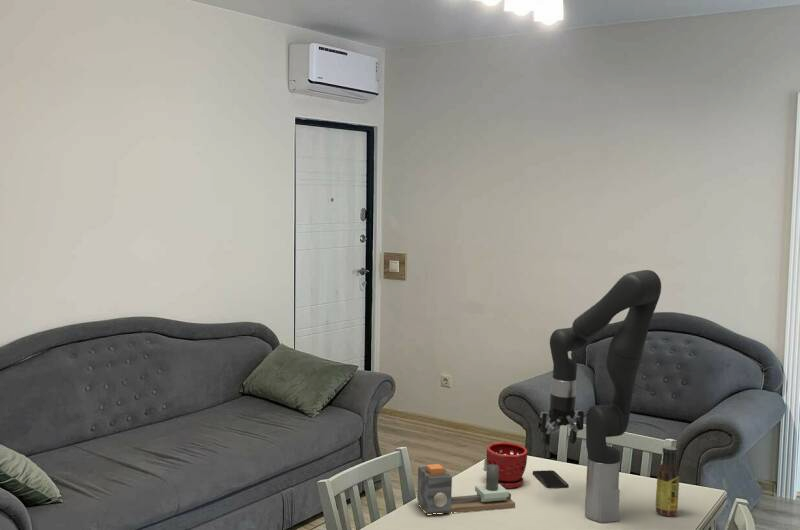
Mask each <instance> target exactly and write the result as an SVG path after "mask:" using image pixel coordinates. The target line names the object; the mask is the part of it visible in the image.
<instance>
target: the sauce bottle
mask: <svg viewBox="0 0 800 530" xmlns="http://www.w3.org/2000/svg"><path fill="white" fill-rule="evenodd" d="M677 454H678V448H676V447H675V446H670V445H669V446H667V445H666V446H663V447H662V461H661V462H662V463H661V464H660V465H659V467H658V469H657V477H656V478H657V479H656V490H655V491H656V494H655V495H656V496H655V511H656V513H657V514H659V515H661V516H664V517H673V516H676V515H677V510H678V507H679V506H678V503H679V490H680V488H679V487H680V473H679V469H678V466H677Z"/></svg>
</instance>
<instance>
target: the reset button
mask: <svg viewBox="0 0 800 530" xmlns="http://www.w3.org/2000/svg"><path fill="white" fill-rule="evenodd" d="M425 467H426V472H427V473H428V474H429V475H437V474H444V470H445V468H444V467H443V466H442V465H441V464H440V463H434V464H426V466H425Z"/></svg>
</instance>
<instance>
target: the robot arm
mask: <svg viewBox="0 0 800 530" xmlns="http://www.w3.org/2000/svg"><path fill="white" fill-rule="evenodd" d="M661 294H662V281H661V279H660V277H659V275H658V274H657V273H656V271H653V270H650V269H641V270H638V271H632V272H627V273H626V274H624V275H623V276H621V277H620V278H619V279H618V280H617V282H615V284H614V285H613V286H612V287H611V288H610V290H608V292H607V293H606V294H605V295H604V296H603V297H602V298H601V299H599V300H598V301H597V302H596V303H595V304H594V305H592V306H591V307H590V308H588V309H587V310H585V311H584V312H582V313H581V314H580V315H578V317H576V318H575V319H574V320H573V322H572V326H571V327H565V328H558V329H555V330H554V331H552V332H551V335H550V338H549V347H550V352H551V358H552V363H553V368H552V369H553V370H552V379H551V385H550V396H549V397H550V398H549V399H550V400H549V411H543V410H541V411H539V415H538V416H539V417H538V423H537V430H539V432H541V433H543V435H542V436H543V437H542V442H543V443H544V445H545V446H550V441H551V432H552V431H553V430H554V429H555V428H556V427H561V426H564V427H565V426H568V427H569V429H570V430H569V436H568V437H569V438H568V441H569V443H570V444H571V445H575V443H576V442H577V437H578V436H577V435H578V431H583V430H584V419H585V433H586V435H585V437H586V438H585V440H586V441H585V444H586V451H587V458H586V459H587V460H586V461H587V463H586V464H587V465H586V484H585V485H586V486H585V503H584V505H585V506H584V515H585V516H586V518H587V519H589V520H592V521H595V522H598V523H599V524H600V523H601V524H602V523H611V522H613V523H614V522H619V517H620V516H619V515H620V514H619V511H620V493H621V491H620V489H619V483H620V465H621V464H620V463H621V453H620V451H619V449H618V448H616V447H613V446H610V445H608V444H607V438H611V437H620V436H623V435H624V434H625V433H626V432H627V429H628V426H629V422H630V421H629V420H630V415H631V407H632V399H633V393H634V389H635V384H636V381H637V380H636V379H637V377H638V372H639V369H640V365H641V362H642V357H643V353H644V348H645V344H646V340H647V337H648V332H649V328H650V324H651V322H652V321H651V320H652V318H653V315H654V312H655V311H656V308H657V305H658V302H659V299H660V296H661ZM627 309H628V311H627V313H626V316H625V318H624V320H623V321H622V323H621V324H620V326H619V327H618V329H616V332H615V334H614V335H613V337H612V338H611V340H610V343H609V347H608V352H607V356H606V361H605V367H606V370H607V373H608V375H609V378H610V380H611V383H612V385H613V395H612V401H611V403H609V404H597V405H592V406H590V407H589V408H588V410H587V413H586V417H584V414H585V413H584V411H583V410H581V409H579V408H578V409H576V396H577V372H578V371H577V370H578V364H577V362H576V360H574V359H573V358H570V357H569V352H575V351H579V350H580V349H582V348H584V347H585V346H586V345H587V343H588V342H589V341H590V340H591V339H592V337H594V336H596V335H597V334H598V333H600V332H601V331H602V330H604V329H605V328H606V327H607V326H608V325H609V324H610V322H612V319H614V317H615V316H617V315H618V314H619V313H621V312H623V311H625V310H627ZM575 409H576V410H575ZM548 418H549V419H548ZM574 418H575V422H574V421H573V419H574Z"/></svg>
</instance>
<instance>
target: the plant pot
mask: <svg viewBox="0 0 800 530" xmlns="http://www.w3.org/2000/svg"><path fill="white" fill-rule="evenodd" d="M500 450H502V452H501V453H500ZM511 452H512V454H511ZM517 453H518V454H517ZM503 454H504V455H503ZM486 458H487V465H489V464H494V465H498V466H499V474H498V484H500V485H501V486H502V487H504V488H505V489H514V488H517V487H520V486H521V485H522V484H523V482H524V478H523V475H524V473H525V470H526V466H527V463H528V449H527V448H526V447H525V446H522V445H520V444H517V443H511V442H495V443H494V442H493V443H491V444H489V445H487V447H486Z"/></svg>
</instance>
